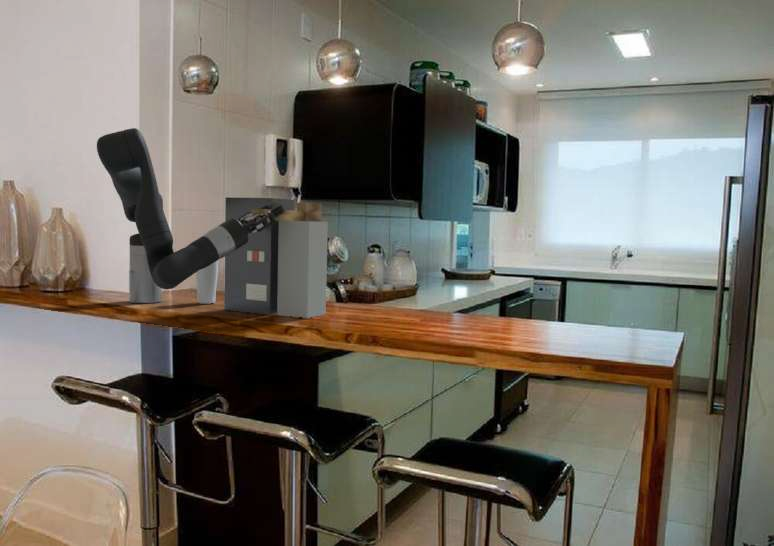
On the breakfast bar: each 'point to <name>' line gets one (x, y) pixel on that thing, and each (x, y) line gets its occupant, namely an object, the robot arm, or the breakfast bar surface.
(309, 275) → the grey tall block
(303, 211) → the oak bar
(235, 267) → the switch cabinet
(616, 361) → the breakfast bar surface
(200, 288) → the drinking glass
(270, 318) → the breakfast bar surface
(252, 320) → the breakfast bar surface
